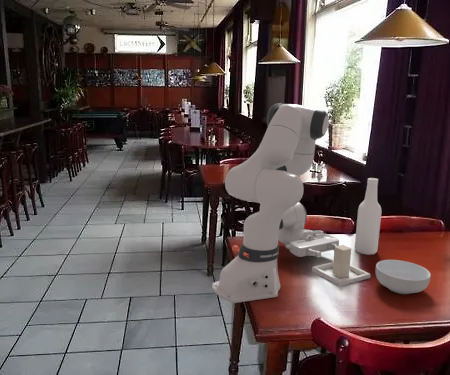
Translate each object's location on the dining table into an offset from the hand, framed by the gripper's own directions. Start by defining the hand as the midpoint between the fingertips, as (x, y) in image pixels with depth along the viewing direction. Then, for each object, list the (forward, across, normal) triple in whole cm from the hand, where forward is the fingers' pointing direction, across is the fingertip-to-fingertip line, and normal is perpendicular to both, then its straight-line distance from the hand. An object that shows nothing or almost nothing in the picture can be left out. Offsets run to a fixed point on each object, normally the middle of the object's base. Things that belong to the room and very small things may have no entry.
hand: (329, 252), depth 157 cm
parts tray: (+6, 0, +6) cm, 8 cm away
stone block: (+6, 0, +6) cm, 9 cm away
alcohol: (-6, +26, +6) cm, 27 cm away
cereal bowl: (+24, +9, +6) cm, 26 cm away
